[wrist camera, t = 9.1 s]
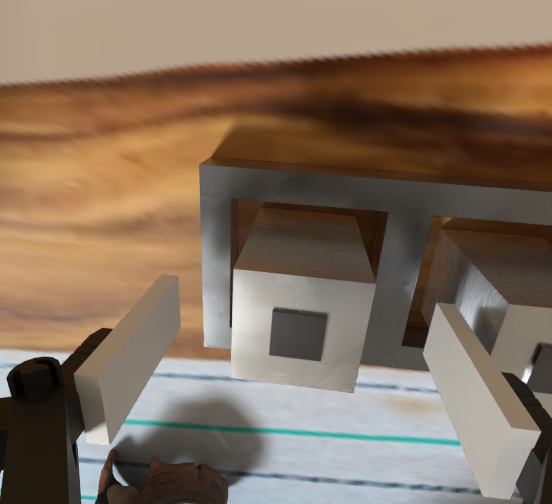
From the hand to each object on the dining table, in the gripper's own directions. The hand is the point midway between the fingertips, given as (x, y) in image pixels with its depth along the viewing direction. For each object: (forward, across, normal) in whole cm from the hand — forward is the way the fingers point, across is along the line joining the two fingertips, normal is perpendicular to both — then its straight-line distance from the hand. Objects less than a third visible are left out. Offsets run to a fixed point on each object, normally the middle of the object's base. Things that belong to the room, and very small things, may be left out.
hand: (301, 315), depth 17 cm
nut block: (+5, 0, -1) cm, 5 cm away
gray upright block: (+5, -9, -1) cm, 11 cm away
